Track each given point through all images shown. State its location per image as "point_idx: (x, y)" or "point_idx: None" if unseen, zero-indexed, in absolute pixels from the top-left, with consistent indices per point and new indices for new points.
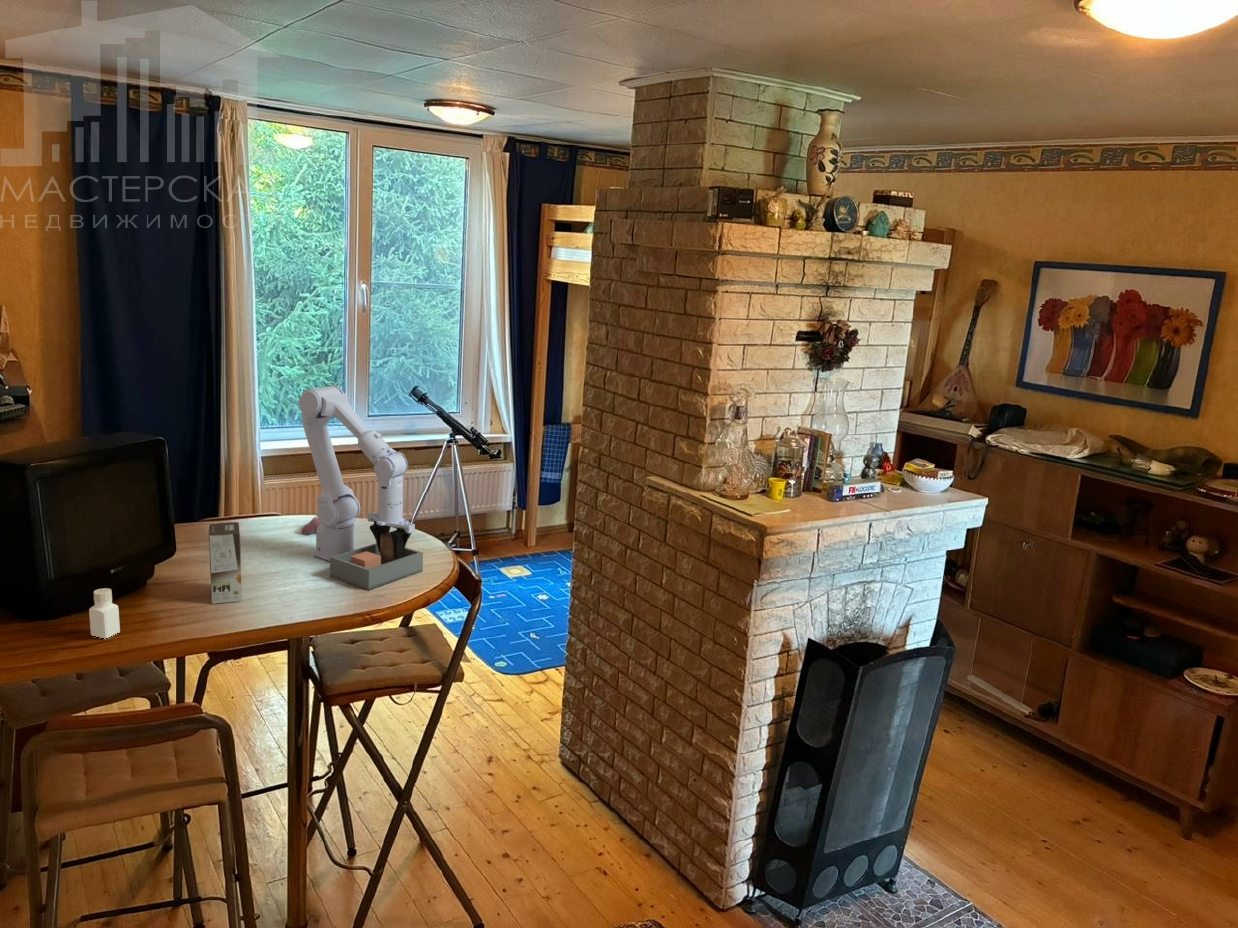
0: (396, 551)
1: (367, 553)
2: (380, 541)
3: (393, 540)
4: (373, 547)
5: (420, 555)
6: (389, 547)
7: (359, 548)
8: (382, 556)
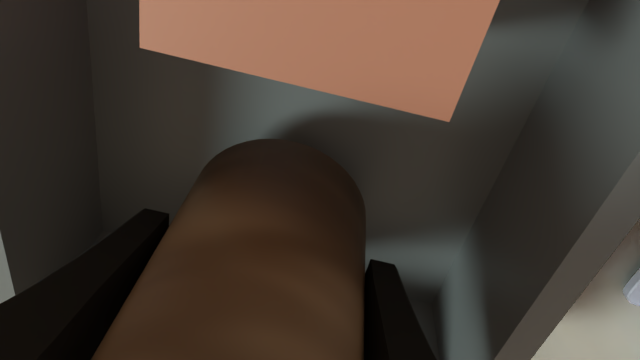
0: (92, 246)
1: (382, 41)
2: (316, 338)
3: (12, 357)
4: (499, 323)
5: None
6: (165, 270)
7: (627, 222)
8: (288, 184)
